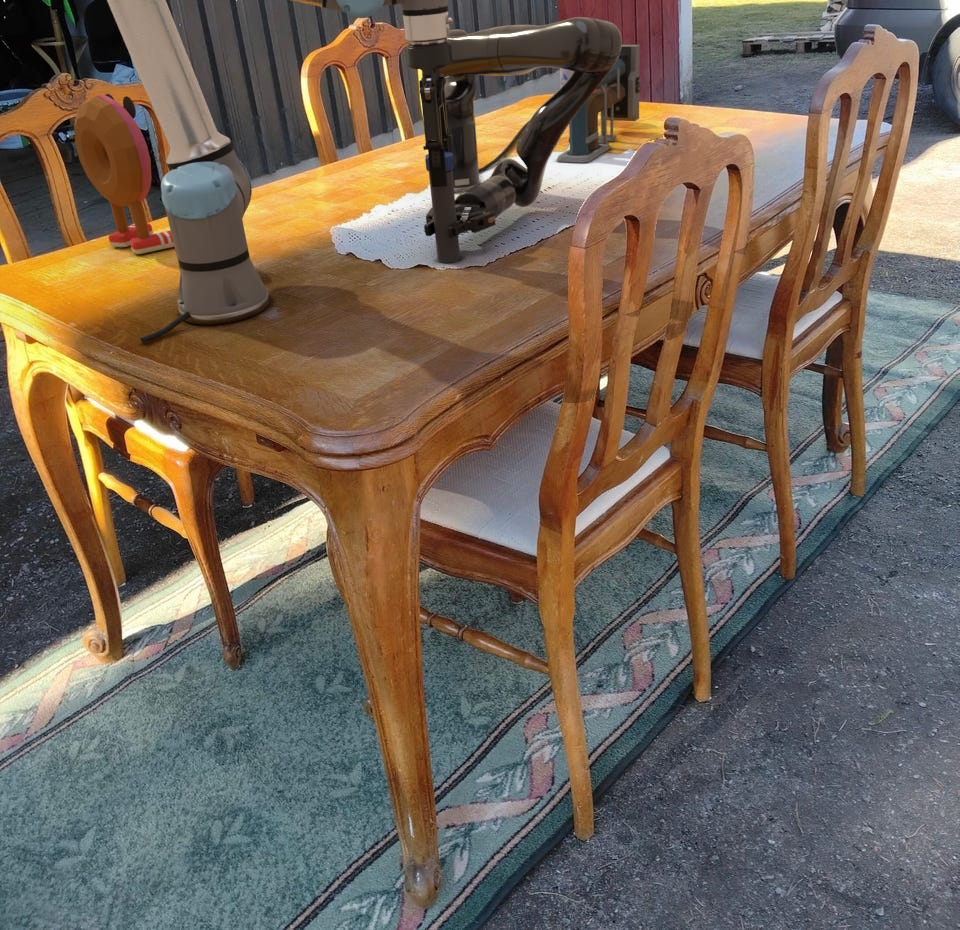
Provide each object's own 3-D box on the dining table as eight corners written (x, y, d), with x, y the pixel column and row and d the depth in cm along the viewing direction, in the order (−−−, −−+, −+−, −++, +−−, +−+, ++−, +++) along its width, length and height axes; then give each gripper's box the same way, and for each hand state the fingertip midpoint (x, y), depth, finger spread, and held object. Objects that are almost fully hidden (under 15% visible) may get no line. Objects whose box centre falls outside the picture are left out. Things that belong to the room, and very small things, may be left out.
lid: (434, 174, 169) (433, 159, 167) (421, 169, 172) (420, 155, 171) (459, 168, 171) (458, 154, 169) (446, 163, 174) (444, 150, 173)
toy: (192, 246, 198) (156, 92, 183) (148, 260, 192) (107, 102, 177) (139, 230, 212) (102, 85, 196) (96, 243, 205) (54, 95, 190)
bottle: (435, 257, 181) (425, 157, 172) (457, 254, 182) (448, 154, 173) (439, 264, 178) (429, 162, 168) (462, 261, 179) (453, 159, 169)
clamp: (587, 162, 233) (585, 68, 223) (554, 161, 237) (551, 68, 226) (639, 130, 259) (639, 44, 248) (608, 129, 263) (607, 44, 252)
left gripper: (444, 47, 153) (456, 194, 165) (456, 32, 168) (467, 168, 180) (397, 50, 154) (413, 196, 165) (414, 35, 169) (427, 170, 181)
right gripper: (446, 183, 189) (402, 208, 176) (512, 187, 183) (472, 213, 170) (449, 221, 193) (407, 248, 180) (514, 226, 187) (475, 255, 174)
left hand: (441, 181), depth 173 cm, fingers open, 5 cm apart
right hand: (438, 231), depth 175 cm, fingers closed on bottle, 4 cm apart
